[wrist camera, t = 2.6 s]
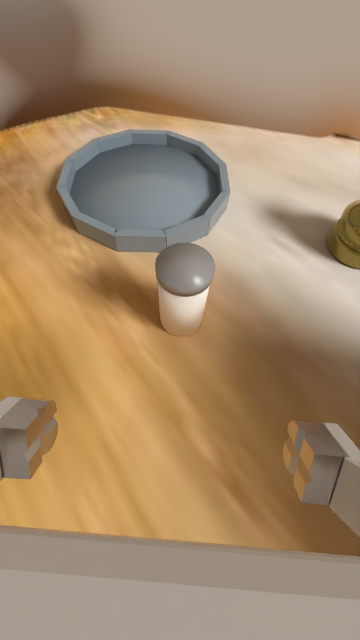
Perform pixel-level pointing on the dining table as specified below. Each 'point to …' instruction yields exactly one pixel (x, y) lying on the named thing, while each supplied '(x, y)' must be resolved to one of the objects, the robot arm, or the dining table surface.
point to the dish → (144, 190)
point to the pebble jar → (183, 286)
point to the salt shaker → (347, 236)
